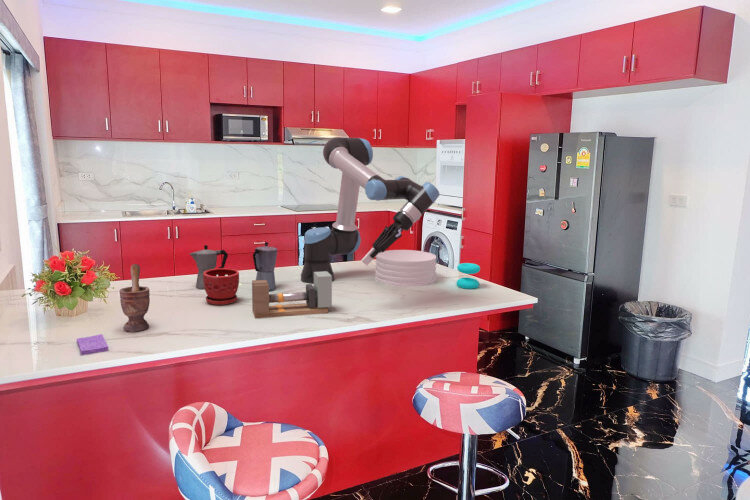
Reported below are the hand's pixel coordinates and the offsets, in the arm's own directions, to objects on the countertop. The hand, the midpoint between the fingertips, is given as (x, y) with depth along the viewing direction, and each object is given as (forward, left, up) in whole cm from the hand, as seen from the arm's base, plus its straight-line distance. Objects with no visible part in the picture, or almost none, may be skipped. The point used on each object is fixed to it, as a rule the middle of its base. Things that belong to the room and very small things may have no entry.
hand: (364, 263), depth 193 cm
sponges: (+17, -88, -18) cm, 92 cm away
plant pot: (-21, -50, -18) cm, 57 cm away
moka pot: (-36, -32, -18) cm, 51 cm away
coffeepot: (-46, -54, -18) cm, 73 cm away
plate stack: (-40, +33, -18) cm, 54 cm away
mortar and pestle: (+2, -78, -18) cm, 80 cm away
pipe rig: (-2, -27, -17) cm, 32 cm away
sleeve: (-2, -15, -15) cm, 22 cm away
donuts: (-20, +55, -18) cm, 61 cm away
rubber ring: (-2, -20, -15) cm, 25 cm away
